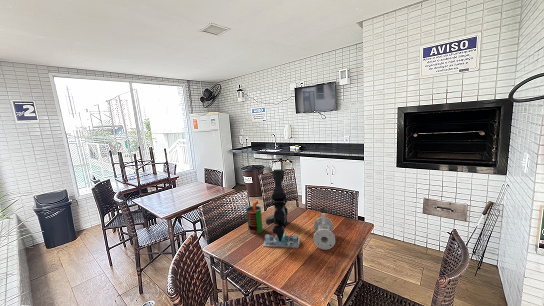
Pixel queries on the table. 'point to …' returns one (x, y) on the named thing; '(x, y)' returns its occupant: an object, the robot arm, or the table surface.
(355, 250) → the table surface
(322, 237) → the valve
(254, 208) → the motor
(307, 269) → the table surface
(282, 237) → the coupler
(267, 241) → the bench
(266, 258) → the table surface
